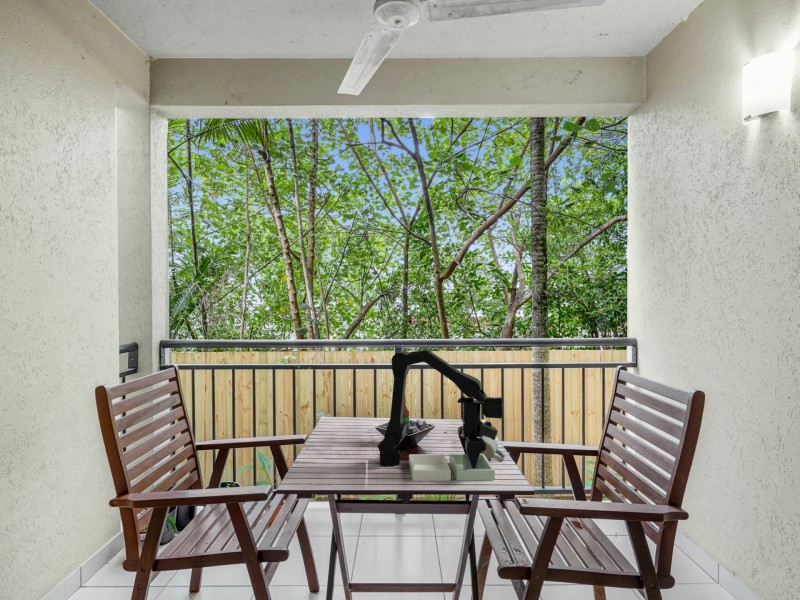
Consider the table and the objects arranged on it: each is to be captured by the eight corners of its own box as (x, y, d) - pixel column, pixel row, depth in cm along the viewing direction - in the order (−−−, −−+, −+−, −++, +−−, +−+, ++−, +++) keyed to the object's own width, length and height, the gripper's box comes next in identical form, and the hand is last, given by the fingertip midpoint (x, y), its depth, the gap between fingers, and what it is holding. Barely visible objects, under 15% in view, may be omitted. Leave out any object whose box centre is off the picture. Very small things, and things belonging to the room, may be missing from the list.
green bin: (456, 483, 162) (457, 470, 162) (449, 465, 178) (449, 454, 178) (494, 482, 163) (494, 470, 163) (483, 465, 179) (483, 453, 179)
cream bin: (412, 483, 162) (412, 470, 161) (408, 465, 178) (409, 454, 177) (450, 483, 162) (450, 470, 162) (443, 465, 178) (443, 454, 178)
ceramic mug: (473, 460, 184) (474, 439, 183) (476, 453, 192) (477, 433, 191) (503, 464, 181) (504, 442, 181) (505, 457, 189) (506, 436, 188)
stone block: (465, 473, 168) (465, 458, 168) (462, 469, 173) (463, 454, 173) (479, 473, 169) (479, 458, 168) (476, 469, 173) (476, 454, 173)
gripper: (502, 423, 161) (502, 473, 162) (489, 409, 180) (488, 454, 180) (467, 423, 161) (466, 473, 161) (457, 409, 179) (457, 454, 180)
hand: (470, 463), depth 171 cm, fingers open, 9 cm apart
